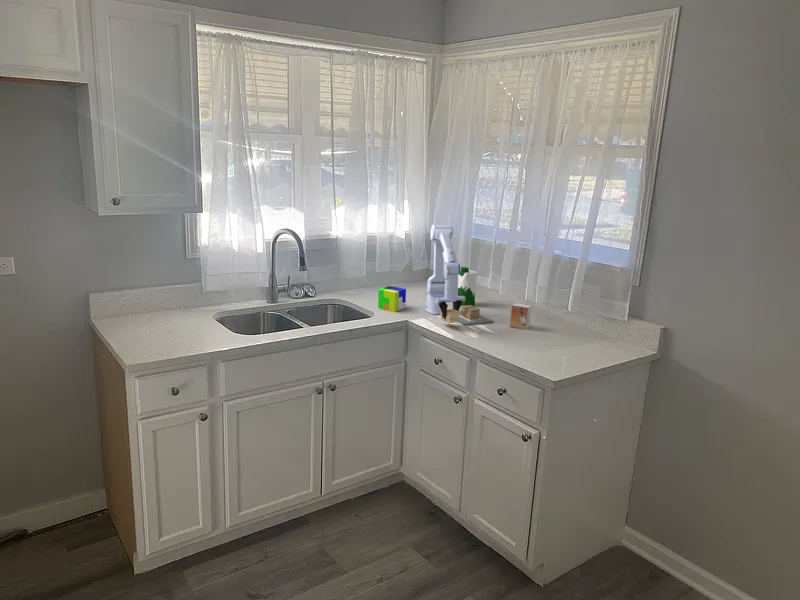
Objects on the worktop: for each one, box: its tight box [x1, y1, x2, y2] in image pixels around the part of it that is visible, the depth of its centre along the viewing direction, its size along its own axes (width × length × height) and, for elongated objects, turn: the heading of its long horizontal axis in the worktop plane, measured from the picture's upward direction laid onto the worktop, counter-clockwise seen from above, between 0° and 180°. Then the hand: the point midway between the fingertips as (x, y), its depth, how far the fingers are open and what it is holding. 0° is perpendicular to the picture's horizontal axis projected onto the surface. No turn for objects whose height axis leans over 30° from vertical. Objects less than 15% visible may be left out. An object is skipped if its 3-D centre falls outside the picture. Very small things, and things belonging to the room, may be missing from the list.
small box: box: [509, 302, 532, 331], centre depth 283 cm, size 8×6×10 cm
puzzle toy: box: [377, 285, 407, 313], centre depth 307 cm, size 10×10×10 cm
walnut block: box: [460, 305, 481, 320], centre depth 292 cm, size 8×5×5 cm, turn 26°
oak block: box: [440, 306, 460, 324], centre depth 280 cm, size 8×5×5 cm, turn 26°
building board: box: [458, 313, 494, 326], centre depth 293 cm, size 16×16×1 cm
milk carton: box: [457, 266, 479, 307], centre depth 318 cm, size 9×9×20 cm
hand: (449, 317), depth 280 cm, fingers closed on oak block, 5 cm apart
